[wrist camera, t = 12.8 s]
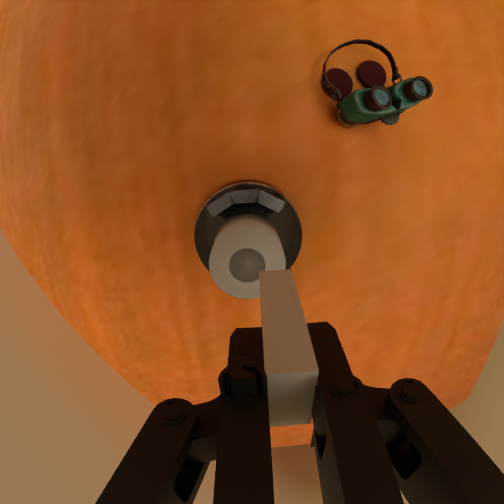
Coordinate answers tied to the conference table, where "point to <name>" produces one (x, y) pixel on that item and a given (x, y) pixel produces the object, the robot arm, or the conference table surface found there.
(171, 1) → the conference table surface
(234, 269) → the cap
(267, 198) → the black round base
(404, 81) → the binoculars
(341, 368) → the robot arm
